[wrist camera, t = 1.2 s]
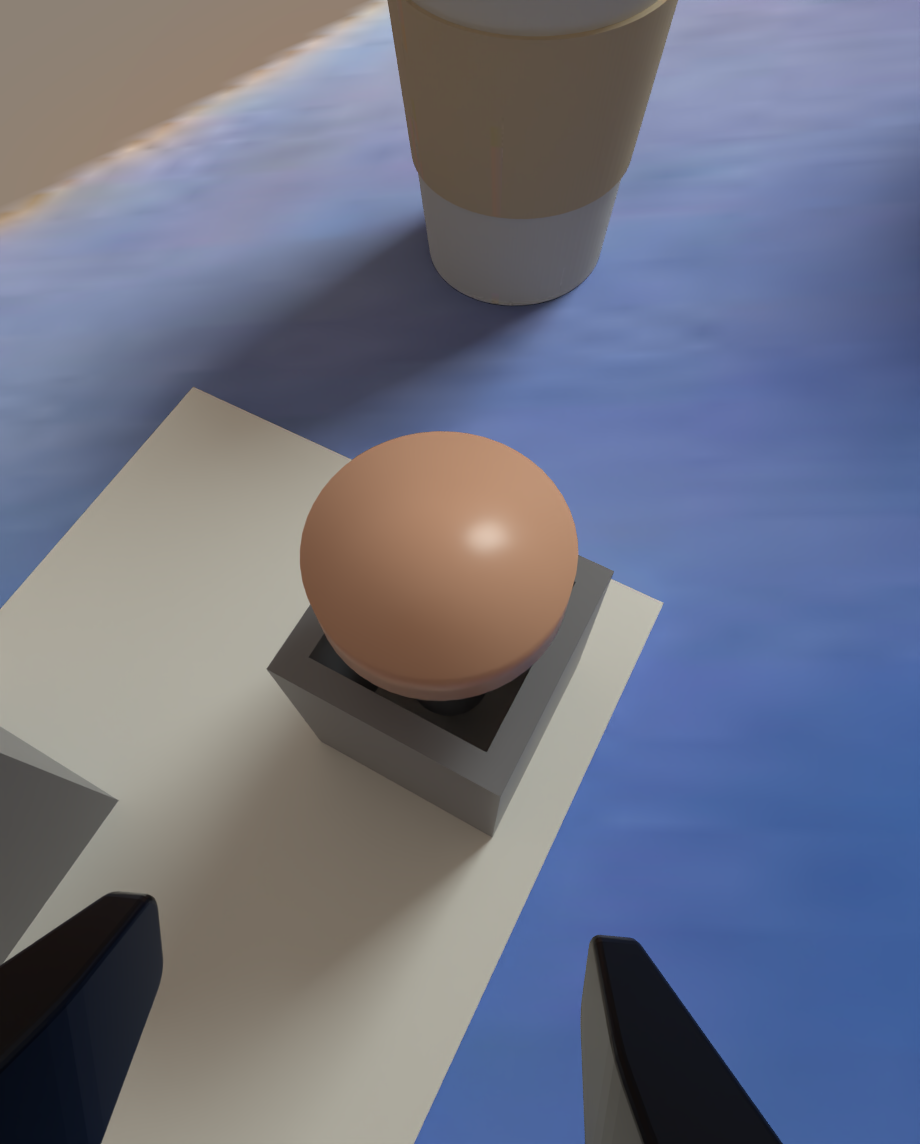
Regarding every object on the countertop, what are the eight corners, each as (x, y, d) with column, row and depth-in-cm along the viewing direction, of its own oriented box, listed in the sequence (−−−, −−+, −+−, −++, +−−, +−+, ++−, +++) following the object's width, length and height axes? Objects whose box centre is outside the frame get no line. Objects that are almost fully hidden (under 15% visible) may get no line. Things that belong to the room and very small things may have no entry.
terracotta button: (489, 806, 17) (498, 731, 11) (320, 713, 18) (244, 597, 12) (573, 640, 19) (622, 495, 13) (415, 563, 20) (390, 394, 14)
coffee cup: (677, 259, 30) (847, -306, 16) (491, 366, 28) (510, -185, 14) (534, 139, 33) (577, -415, 20) (358, 226, 31) (270, -331, 17)
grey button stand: (311, 1359, 16) (202, 1645, 9) (-239, 932, 20) (-588, 928, 13) (654, 618, 23) (725, 493, 17) (204, 408, 27) (119, 240, 20)
